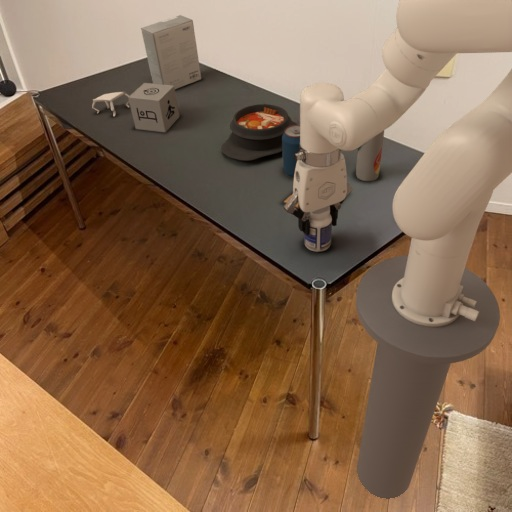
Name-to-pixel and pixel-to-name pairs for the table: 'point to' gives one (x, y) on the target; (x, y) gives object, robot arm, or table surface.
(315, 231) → the pill bottle
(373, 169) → the lotion bottle
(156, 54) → the hard drive box
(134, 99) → the icon cube
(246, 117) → the casserole
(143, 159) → the table surface
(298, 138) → the soda can
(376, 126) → the robot arm
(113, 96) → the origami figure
